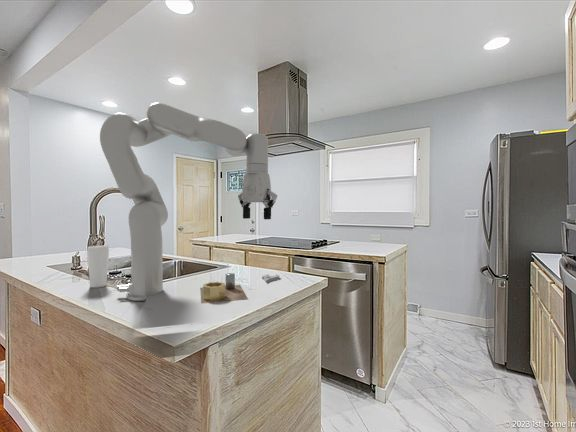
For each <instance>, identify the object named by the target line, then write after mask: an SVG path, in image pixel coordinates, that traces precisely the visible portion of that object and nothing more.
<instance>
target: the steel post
mask: <svg viewBox="0 0 576 432" xmlns="http://www.w3.org/2000/svg"><path fill="white" fill-rule="evenodd" d="M235 285H236V274H235V273H234V272H232V273H231V272H229V273H225V286H226V289H227V290H233V289H235Z"/></svg>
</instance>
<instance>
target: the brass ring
mask: <svg viewBox="0 0 576 432" xmlns="http://www.w3.org/2000/svg"><path fill="white" fill-rule="evenodd" d="M225 286H226V282H221V281H212V282H210V281H209V282H207V283H203V284H202V288H203V299H204V300H209V301H213V300H221V299H223V298H225Z"/></svg>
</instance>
